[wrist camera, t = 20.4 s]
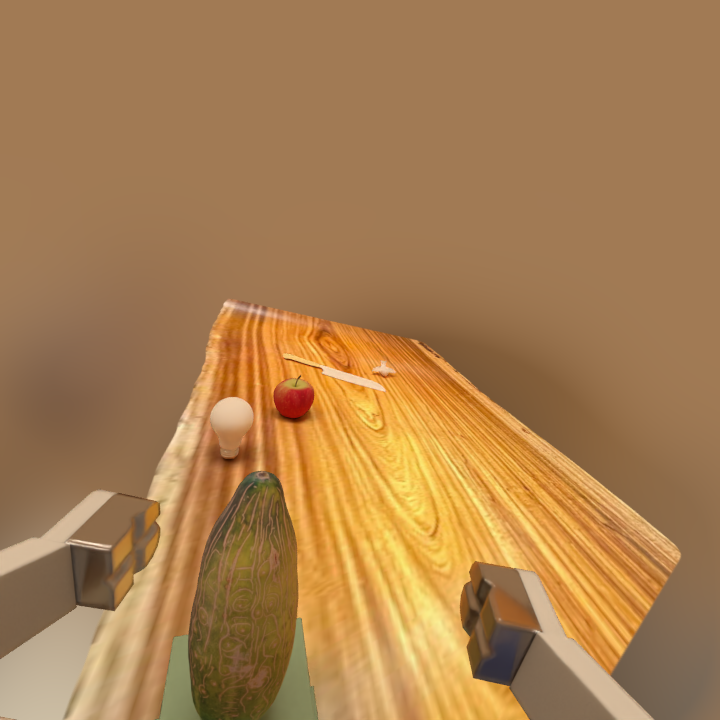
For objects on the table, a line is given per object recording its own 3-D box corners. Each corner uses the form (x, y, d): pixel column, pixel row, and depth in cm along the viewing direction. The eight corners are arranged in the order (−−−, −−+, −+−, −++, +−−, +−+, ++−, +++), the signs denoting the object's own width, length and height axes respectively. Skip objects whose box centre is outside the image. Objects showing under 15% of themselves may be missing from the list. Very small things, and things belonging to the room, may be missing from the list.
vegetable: (298, 706, 27) (343, 484, 20) (229, 811, 22) (260, 558, 15) (240, 651, 30) (262, 439, 23) (166, 733, 24) (168, 489, 18)
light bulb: (243, 443, 67) (247, 388, 63) (254, 465, 62) (261, 406, 58) (203, 450, 63) (206, 392, 59) (213, 473, 58) (216, 412, 54)
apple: (280, 427, 74) (286, 382, 70) (266, 407, 80) (270, 365, 77) (317, 421, 78) (324, 378, 75) (300, 403, 85) (306, 363, 81)
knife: (384, 392, 98) (390, 385, 102) (277, 356, 107) (286, 350, 111) (383, 396, 98) (389, 389, 102) (277, 360, 108) (286, 354, 112)
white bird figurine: (372, 375, 107) (374, 359, 107) (368, 374, 112) (370, 359, 112) (398, 378, 109) (400, 362, 109) (393, 377, 114) (395, 362, 114)
